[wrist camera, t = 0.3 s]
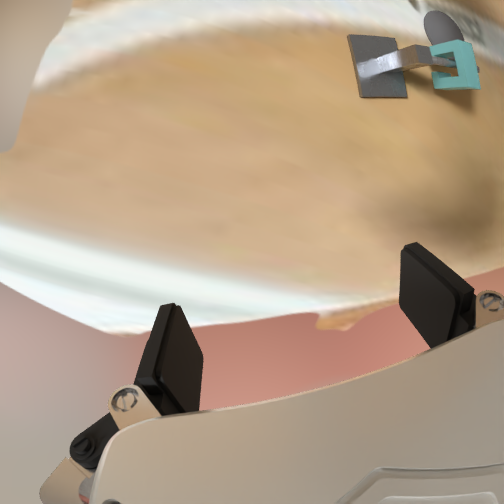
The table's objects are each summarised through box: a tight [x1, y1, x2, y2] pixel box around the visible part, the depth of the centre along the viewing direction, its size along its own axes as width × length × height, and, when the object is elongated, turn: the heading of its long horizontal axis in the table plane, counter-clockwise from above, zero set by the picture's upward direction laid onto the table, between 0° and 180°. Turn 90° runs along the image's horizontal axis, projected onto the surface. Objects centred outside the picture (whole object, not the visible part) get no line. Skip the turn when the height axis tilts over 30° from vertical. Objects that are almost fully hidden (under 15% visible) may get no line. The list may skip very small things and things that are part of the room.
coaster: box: [424, 11, 464, 60], centre depth 29 cm, size 10×10×1 cm
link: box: [430, 40, 481, 90], centre depth 26 cm, size 7×3×8 cm, turn 11°
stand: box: [347, 35, 479, 97], centre depth 27 cm, size 10×18×11 cm, turn 101°
